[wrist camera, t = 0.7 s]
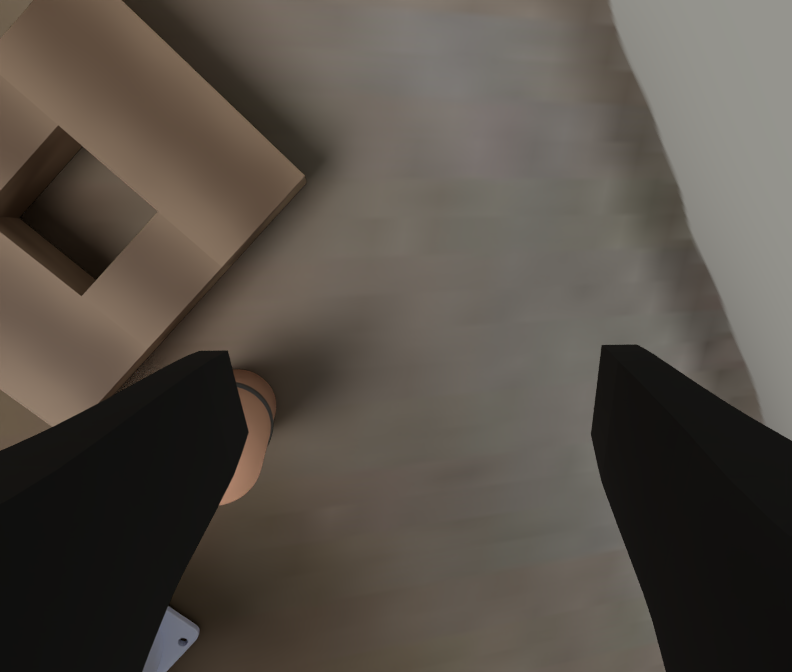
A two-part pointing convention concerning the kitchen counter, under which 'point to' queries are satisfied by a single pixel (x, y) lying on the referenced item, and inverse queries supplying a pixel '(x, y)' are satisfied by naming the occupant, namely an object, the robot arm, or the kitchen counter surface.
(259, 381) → the peg
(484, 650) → the kitchen counter surface
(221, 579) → the kitchen counter surface
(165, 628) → the robot arm
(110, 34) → the socket board
